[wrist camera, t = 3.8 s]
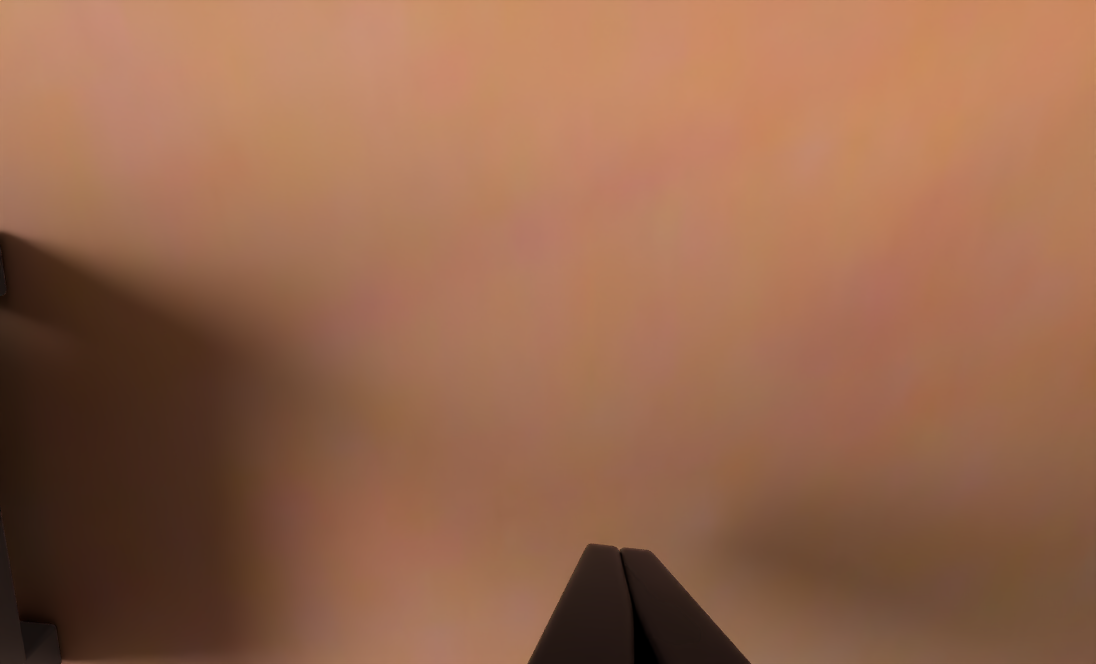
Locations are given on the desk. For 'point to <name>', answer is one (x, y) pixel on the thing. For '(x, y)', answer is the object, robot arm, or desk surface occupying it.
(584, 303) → the desk surface
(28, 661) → the chair
